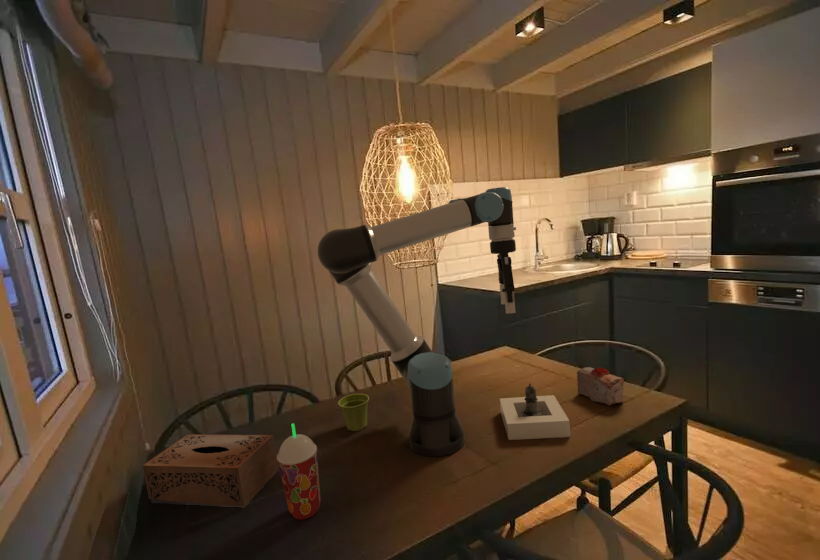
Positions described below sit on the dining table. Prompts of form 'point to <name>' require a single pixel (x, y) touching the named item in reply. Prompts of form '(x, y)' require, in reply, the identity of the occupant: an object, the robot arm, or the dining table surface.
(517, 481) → the dining table surface
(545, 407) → the square frame
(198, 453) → the tissue box cover
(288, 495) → the smoothie
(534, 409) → the dark chess piece
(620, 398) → the food item
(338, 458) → the dining table surface
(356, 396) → the plant pot
